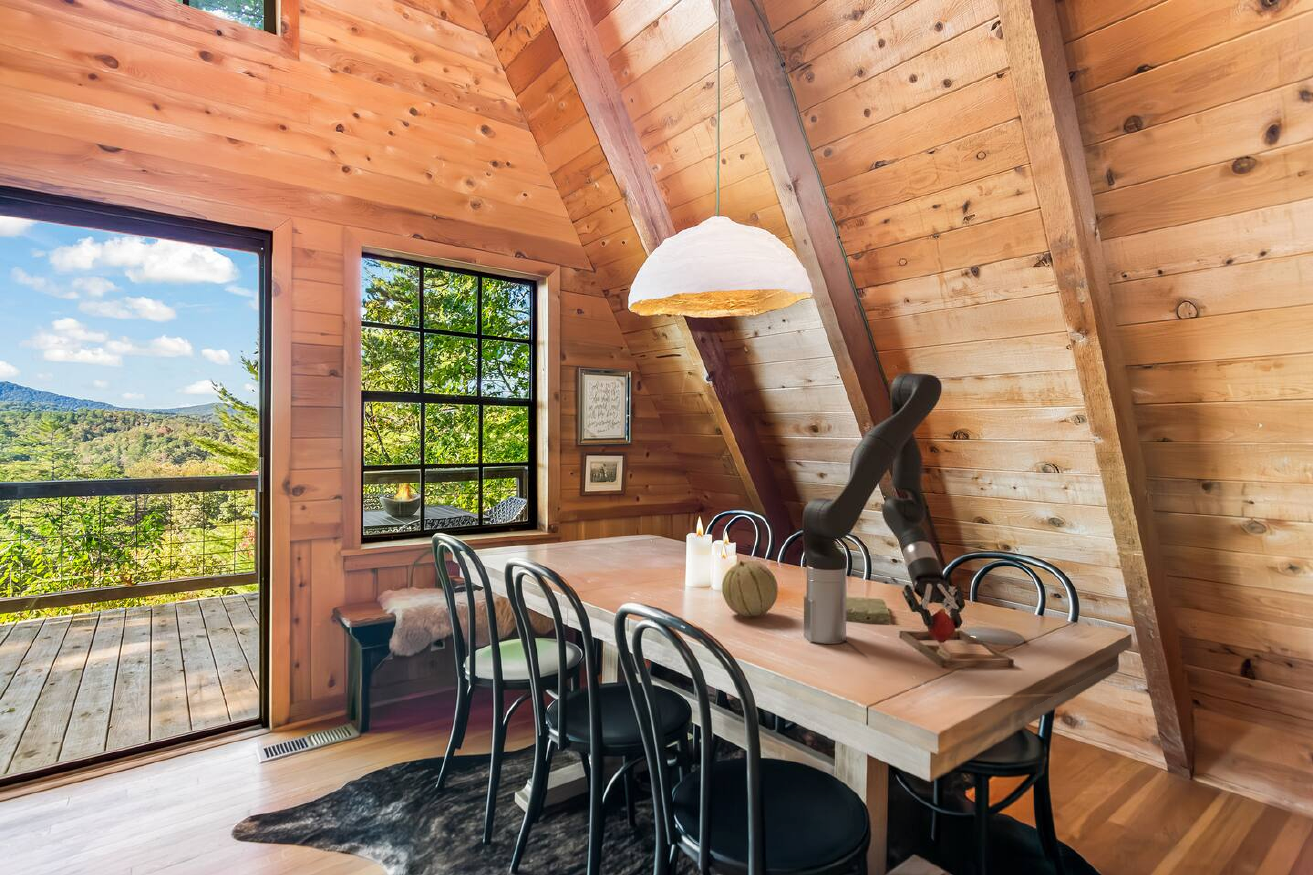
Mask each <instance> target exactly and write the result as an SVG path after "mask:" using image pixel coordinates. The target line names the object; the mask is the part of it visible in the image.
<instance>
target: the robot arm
mask: <svg viewBox="0 0 1313 875" xmlns="http://www.w3.org/2000/svg"><path fill="white" fill-rule="evenodd" d="M942 389H943V387H942V382H941V380H940V379H939V378H938V377H937V376H935V375H933V374H928V373H913V372H912V373H909V372H904V373H900V374H897V375H896V377H894V379H893V380H892V383H891V386H890V409H891V410H890V413H891V416H890V417H888V418H887V419H885V420H883V421H881V422H880V423H878V424H877V425H875V426H873V427H872V428H870V429H869V430H868V431H867V432H866V433H865V434H864V436H863V437H862V438H861V440H860V441H859V443H858V444H857V446H856V447H855V449H854V450H853V452H852V455H851V458H850V464H849V465H850V466H849V467H850V468H849V477H848V481H847V482H846V484H845V486H844V487H843V488H842V489H841V491H840V493H839V494H838V495H836V497H835V498H834V499H833V498H823V497H817V498H812V499H811V500H810V501H808V502H807V504H805V507H804V509H803V513H802V514H803V515H802V543H803V544H802V546H803V553H804V555H805V558H806V595H804V596H803V636H804V637H805V638H806V639H807V640H808V641H809V643H810V642H811V643H819V644H825V645H826V644H827V645H828V644H829V645H836V644H841V643H845V642H846V641H847V621H846V597H847V584H848V583H847V582H848V581H847V577H848V576H847V574H848V572H847V569H848V568H847V565H848V564H847V563H848V561H847V560H848V559H847V556H846V555H845V553H843V552H842V551H841V550H840V549H839V547H838V546H837V544H836V541H835V540H842V539H845V538H846V537H847V536H848V535H850V533H851V532H852V530H853V529H854V527H855V526H856V523H857V522H858V520H859V518H860V517H861V515H862V512H863V511H864V508H865V506H866V505H867V503H868V502H869V499H870V497H871V496H872V495H873V492H874V491H875V490H876V488H877V487H878V485H879V483H880V482H881V481H882V479H883V477H884V476H885V474H886V473H887V471H888V470H889V469H890V468H891V467H892V476H891V477H892V479H891V484H892V487H894V489H897V490H900V491H903V492H906V493H907V495H908V498H901V497H900V498H895V497H891V498H889V499H886V500H885V501H884V503H883V505H882V509H881V514H882V518H883V520H884V522H885V524H886V525H887V527H888V528H889V529H890V531H891V533H893V535H894V537H895V538H896V539H897V540H898V542H899V547H900V548H901V552H902V555H903V560H904V564H905V567H906V569H907V572H908V575H909V578H910V581H911V584H912V585H911V586H910V584H904V585H905V586H904V587H903V589H902V592H901V593H902V595H903V597H904V598H905V601H906V603H907V605H908V608H909V609H910V611H911V612H912V613H919V614H920V615H921V618H922V622H923V624H924V626H925V627H926V628H927V629H928V628H932V627H933V625H934V622H933V619H932V616H933V615H932V614H931V612H930V609H929V604H933V603H935V604H940V605H941V607H942V608H944V609H945V610H946V611H948V612H949V613H950V615H949V616H950V617H951V619H952V620H953V622H954V625H955V630H956V629H957V630H958V629H959V630H960V628H961V626H962V624H963V619H962V616H961V614H960V613H962V611H963V610H964V608H965V606H966V603H965V599H964V598H965V597H964V594H963V588H962V586H961V585H959V584H957V585H956V586H953V585H952V586H951V585H949V584H948V583H947V582H946V580H945V575H944V573H943V572H944V571H943V569H942V567H941V564H940V562H939V558H938V556H937V554H936V550H934V548H933V546H932V543H931V541H930V538H929V536H928V533H927V531H926V529H925V528H924V527H922V526H921V524H922V523H923V522H924V520H925V517H926V506H925V502H924V498H923V491H922V482H921V481H922V470H923V455H922V452H921V449H920V447H919V446H920V445H919V444H918V440H917V438H916V436H915V434H914V432H915V431H916V430H917V429H918V427H919V426H920V425H921V424H922V423H923V421H925V419H926V418H927V417H928V416H929V415H930V413H931V412H932V411H933V410H934V408H936V405H937V404H938V402H939V401H940V398H941V394H942V391H943V390H942ZM892 464H893V465H892ZM891 465H892V466H891ZM915 594H916V595H917V596H919V597H920V602H919V601H918V598H917V597H916V595H915Z"/></svg>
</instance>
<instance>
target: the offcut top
mask: <svg viewBox="0 0 1313 875" xmlns="http://www.w3.org/2000/svg"><path fill="white" fill-rule="evenodd" d="M938 643H939V642H938ZM938 645H939V648H940V649H941V650H942V651H943V652H944V653H945V654H946V655H947V656H948V657H949V658H954V659H994V654H992V653H991V652H990V651H989V650H987V649H986V648H985V647H984V646H982V645H975V644H967V643H955V642H953V643H952V642H944V643H939V644H938Z"/></svg>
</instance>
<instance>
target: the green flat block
mask: <svg viewBox="0 0 1313 875" xmlns="http://www.w3.org/2000/svg"><path fill="white" fill-rule="evenodd" d="M847 621H848V622H853V623H854V622H855V623H868V624H869V623H871V624H883V625H884V624H886V625H887V624H888V625H891V624H892V623H891V621H892V620H891V615H890V611H889V608H888V606H887V604H886V602H885V601H884V599H882V598H869V597H858V596H857V597H855V596H846V622H847Z"/></svg>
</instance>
